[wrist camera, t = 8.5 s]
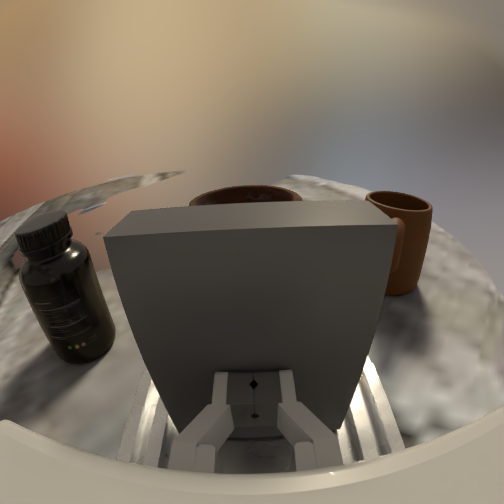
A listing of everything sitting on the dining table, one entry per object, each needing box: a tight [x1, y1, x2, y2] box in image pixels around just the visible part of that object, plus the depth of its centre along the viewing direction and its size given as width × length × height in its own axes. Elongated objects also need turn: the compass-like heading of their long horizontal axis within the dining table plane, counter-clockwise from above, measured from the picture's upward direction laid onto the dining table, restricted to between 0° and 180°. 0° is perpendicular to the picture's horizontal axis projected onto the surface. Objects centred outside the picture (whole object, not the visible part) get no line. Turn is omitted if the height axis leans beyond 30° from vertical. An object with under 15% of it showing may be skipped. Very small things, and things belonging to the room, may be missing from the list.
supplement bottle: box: [15, 211, 115, 364], centre depth 20 cm, size 7×7×12 cm
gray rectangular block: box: [103, 201, 398, 438], centre depth 13 cm, size 9×6×12 cm
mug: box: [365, 191, 432, 295], centre depth 26 cm, size 12×8×9 cm, turn 150°
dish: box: [189, 185, 302, 206], centre depth 46 cm, size 18×22×5 cm
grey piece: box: [117, 356, 405, 474], centre depth 13 cm, size 16×20×8 cm
